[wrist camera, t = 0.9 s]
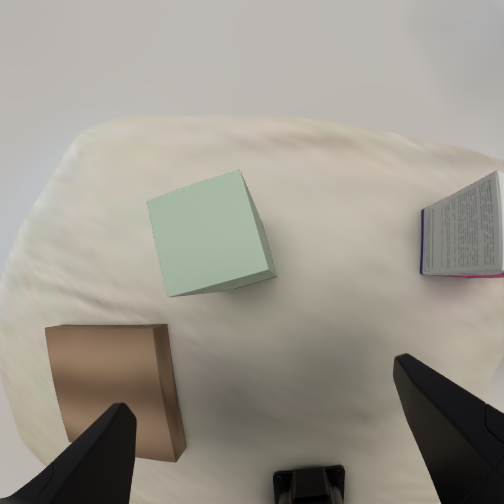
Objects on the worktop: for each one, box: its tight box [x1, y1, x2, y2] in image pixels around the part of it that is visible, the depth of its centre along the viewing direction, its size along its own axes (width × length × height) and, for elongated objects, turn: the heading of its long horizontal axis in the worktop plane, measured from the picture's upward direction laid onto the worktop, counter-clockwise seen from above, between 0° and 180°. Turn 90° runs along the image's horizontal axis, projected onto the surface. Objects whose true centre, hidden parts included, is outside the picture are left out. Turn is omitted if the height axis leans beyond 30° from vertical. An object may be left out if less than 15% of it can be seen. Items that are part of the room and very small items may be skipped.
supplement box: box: [420, 171, 504, 278], centre depth 17 cm, size 6×6×12 cm
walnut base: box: [45, 324, 186, 462], centre depth 23 cm, size 12×12×3 cm
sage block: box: [147, 169, 277, 297], centre depth 19 cm, size 4×4×12 cm
